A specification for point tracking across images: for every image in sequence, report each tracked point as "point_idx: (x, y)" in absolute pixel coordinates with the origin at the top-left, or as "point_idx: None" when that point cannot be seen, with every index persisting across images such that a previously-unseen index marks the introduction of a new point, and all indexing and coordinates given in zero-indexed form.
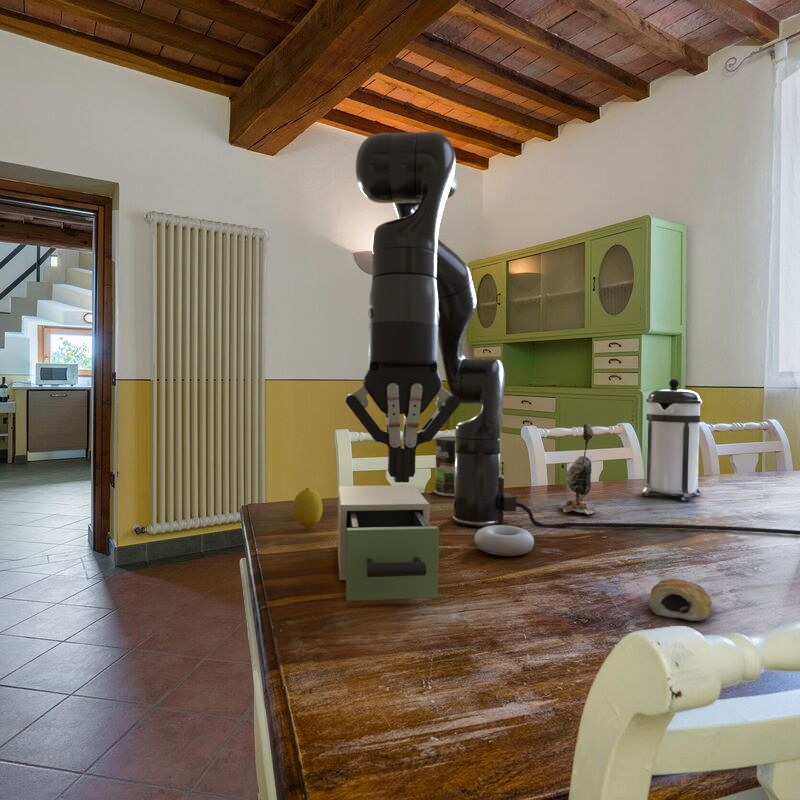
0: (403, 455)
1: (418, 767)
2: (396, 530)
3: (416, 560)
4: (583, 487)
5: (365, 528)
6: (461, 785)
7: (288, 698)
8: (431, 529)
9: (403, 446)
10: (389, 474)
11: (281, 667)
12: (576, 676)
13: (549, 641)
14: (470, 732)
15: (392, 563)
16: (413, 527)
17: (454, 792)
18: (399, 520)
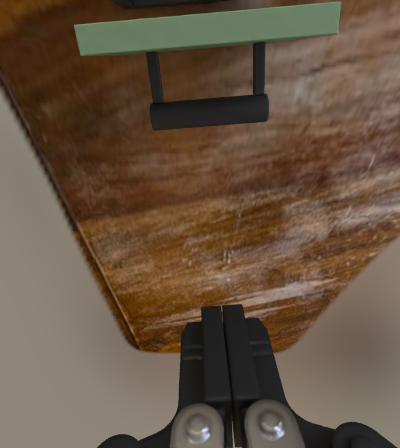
0: (232, 421)
1: None
2: (215, 44)
3: (255, 69)
4: None
5: (128, 33)
6: None
7: (103, 274)
8: (315, 35)
9: (241, 424)
10: (187, 326)
11: (79, 227)
12: (375, 247)
13: (394, 176)
14: (249, 312)
15: (201, 119)
16: (267, 20)
17: None
18: None
